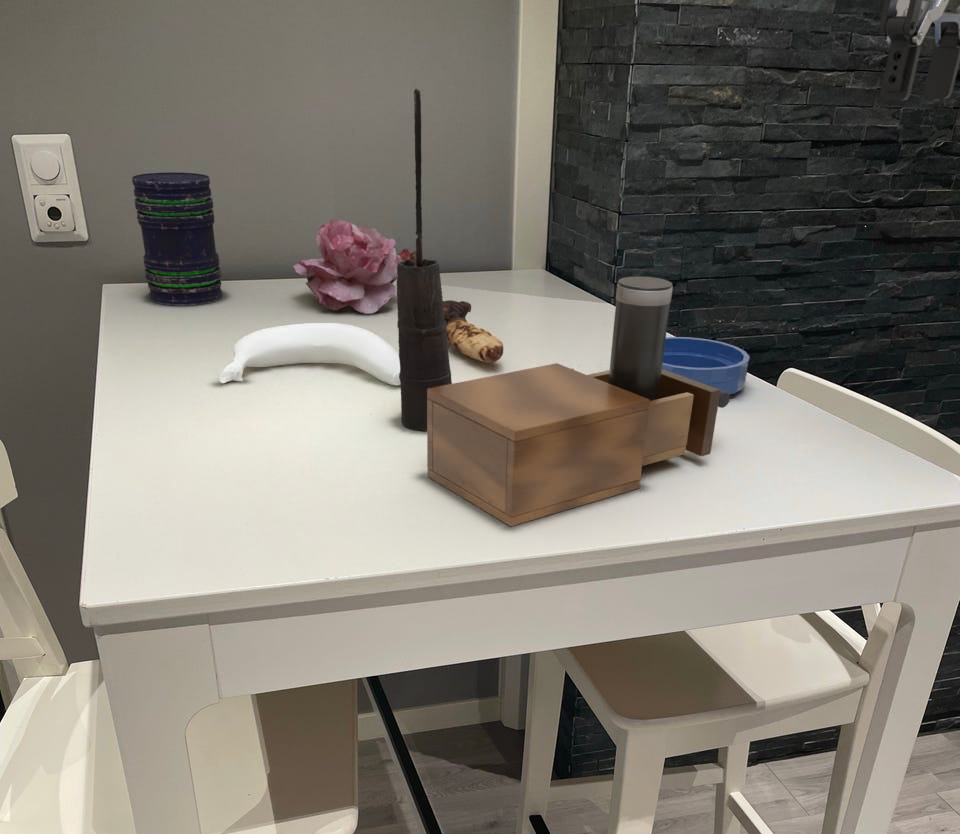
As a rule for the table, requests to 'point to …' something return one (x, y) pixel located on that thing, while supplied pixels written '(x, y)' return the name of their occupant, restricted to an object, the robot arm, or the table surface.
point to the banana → (315, 350)
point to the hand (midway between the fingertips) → (915, 99)
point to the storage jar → (178, 237)
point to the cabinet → (535, 441)
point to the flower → (352, 267)
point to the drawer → (679, 417)
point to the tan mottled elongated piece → (469, 334)
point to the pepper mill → (640, 334)
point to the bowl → (707, 362)
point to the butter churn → (420, 317)
